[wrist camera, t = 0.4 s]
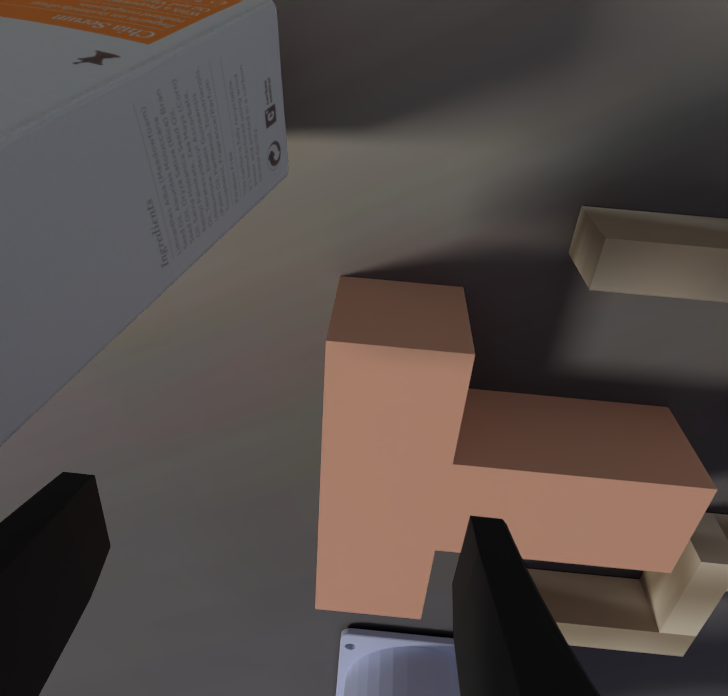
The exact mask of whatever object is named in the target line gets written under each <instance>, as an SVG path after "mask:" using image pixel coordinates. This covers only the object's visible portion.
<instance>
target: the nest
mask: <svg viewBox="0 0 728 696" xmlns="http://www.w3.org/2000/svg"><path fill="white" fill-rule="evenodd" d="M569 255H570V257H571V258H572V260H573V262H574V264H575V265H576V267H577V269H578V271H579V272H580V274H581V276H582V278H583V279H584V281H585V283H586V285H587V286H588V288H589V290H596V291H607V292H618V293H630V294H641V295H652V296H663V297H674V298H685V299H696V300H707V301H718V302H728V219H724V218H713V217H701V216H690V215H679V214H667V213H656V212H645V211H633V210H622V209H611V208H599V207H588V206H581V210H580V213H579V217H578V220H577V224H576V228H575V231H574V235H573V238H572V242H571V246H570V249H569ZM528 571H529V573H530V575H531V577H532V579H533V581H534V583H535V585H536V587H537V589H538V591H539V593H540V595H541V596H542V598H543V600H544V602H545V604H546V606H547V607H548V609H549V611H550V613H551V615H552V616H553V618H554V620H555V622H556V624H557V625H558V627H559V629H560V631H561V633H562V634H563V636H564V638H565V640H566V641H567V643H568V645H572V646H582V647H592V648H602V649H612V650H622V651H632V652H642V653H652V654H662V655H672V656H682V657H683V656H684V654H685V653H686V651H687V650H688V648H689V647H690V645H691V644H692V642H693V641H694V639H695V637H696V636H697V634H698V633H699V631H700V630H701V628H702V627H703V625H704V624H705V622H706V621H707V619H708V618H709V616H710V615H711V613H712V612H713V610H714V608H715V607H716V605H717V604H718V602H719V601H720V599H721V598H722V596H723V595H724V593H725V592H726V591H728V515H725V514H715V513H704V515H703V517H702V519H701V520H700V522H699V524H698V526H697V527H696V529H695V531H694V533H693V535H692V536H691V538H690V540H689V542H688V544H687V545H686V547H685V549H684V551H683V553H682V554H681V556H680V558H679V560H678V562H677V563H676V565H675V567H674V569H673V570H672V572H671V573H663V572H653V571H643V573H642V575H641V577H640V579H629V578H619V577H609V576H599V575H589V574H578V573H568V572H558V571H548V570H537V569H528Z"/></svg>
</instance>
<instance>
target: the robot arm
mask: <svg viewBox="0 0 728 696" xmlns="http://www.w3.org/2000/svg"><path fill="white" fill-rule="evenodd" d="M109 549H110V541H109V537H108V533H107V528H106V524H105V519H104V515H103V510H102V506H101V502H100V497H99V493H98V488H97V484H96V479H95V475H87V474H78V473H69V472H62V473H61V474H60V475H59V476H57V477H56V478H55V479H54V480H52V481H51V482H50V483H48V484H47V485H46V486H45V487H43V488H42V489H41V490H40V491H39V492H37V493H36V494H35V495H34V496H32V497H31V498H30V499H29V500H27V501H26V502H25V503H24V504H23V505H21V506H20V507H19V508H18V509H16V510H15V511H14V512H13V513H11V514H10V515H9V516H8V517H7V518H5V519H4V520H3V521H2V522H0V696H39V694H40V692H41V690H42V688H43V687H44V685H45V683H46V681H47V679H48V677H49V675H50V673H51V672H52V670H53V668H54V666H55V664H56V662H57V660H58V659H59V657H60V655H61V653H62V651H63V649H64V647H65V646H66V644H67V642H68V640H69V638H70V636H71V634H72V632H73V630H74V629H75V627H76V625H77V623H78V621H79V619H80V617H81V615H82V613H83V612H84V610H85V608H86V606H87V604H88V602H89V600H90V598H91V595H92V593H93V590H94V588H95V586H96V583H97V581H98V578H99V576H100V573H101V570H102V568H103V565H104V562H105V560H106V557H107V554H108V552H109ZM452 587H453V638H445V637H435V636H425V635H415V634H405V633H395V632H385V631H375V630H365V629H355V628H347V629H345V630H343V631H342V633H341V642H340V654H339V666H338V678H337V690H336V696H600V695H599V693H598V691H597V690H596V688H595V687H594V685H593V684H592V682H591V681H590V679H589V677H588V676H587V674H586V672H585V671H584V669H583V668H582V666H581V664H580V663H579V661H578V660H577V658H576V656H575V655H574V653H573V651H572V650H571V648H570V646H569V645H568V643H567V641H566V640H565V638H564V636H563V634H562V633H561V631H560V629H559V627H558V625H557V624H556V622H555V620H554V618H553V616H552V615H551V613H550V611H549V609H548V607H547V606H546V604H545V602H544V600H543V598H542V596H541V595H540V593H539V591H538V589H537V587H536V585H535V583H534V581H533V579H532V577H531V575H530V573H529V571H528V569H527V567H526V565H525V563H524V561H523V559H522V557H521V555H520V553H519V550H518V548H517V546H516V544H515V542H514V540H513V537H512V535H511V533H510V531H509V528H508V526H507V524H506V523H505V521H504V520H503V519H499V518H489V517H480V516H471V515H470V518H469V522H468V526H467V530H466V533H465V537H464V541H463V545H462V549H461V552H460V556H459V560H458V564H457V568H456V572H455V575H454V579H453V583H452Z"/></svg>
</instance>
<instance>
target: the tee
mask: <svg viewBox="0 0 728 696" xmlns="http://www.w3.org/2000/svg"><path fill="white" fill-rule="evenodd" d="M474 358H475V350H474V345H473V339H472V333H471V328H470V322H469V316H468V311H467V305H466V299H465V294H464V288H463V287H457V286H446V285H435V284H424V283H413V282H402V281H390V280H379V279H368V278H357V277H346V276H340V280H339V284H338V289H337V293H336V298H335V302H334V307H333V311H332V316H331V320H330V325H329V329H328V334H327V338H326V352H325V377H324V402H323V427H322V452H321V477H320V502H319V527H318V552H317V577H316V602H315V609H322V610H332V611H342V612H352V613H362V614H372V615H382V616H392V617H403V618H413V619H421V615H422V610H423V606H424V601H425V596H426V591H427V586H428V581H429V576H430V572H431V567H432V562H433V557H434V552H435V550H438V551H448V552H459V553H460V552H461V549H462V545H463V541H464V537H465V533H466V530H467V526H468V522H469V518H470V515H471V516H480V517H489V518H499V519H503V520H504V521H505V523H506V524H507V526H508V528H509V531H510V533H511V535H512V537H513V540H514V542H515V544H516V546H517V548H518V550H519V553H520V555H521V557H522V559H530V560H540V561H551V562H561V563H571V564H581V565H592V566H602V567H612V568H622V569H632V570H643V571H653V572H663V573H671V572H672V570H673V569H674V567H675V565H676V563H677V562H678V560H679V558H680V556H681V554H682V553H683V551H684V549H685V547H686V545H687V544H688V542H689V540H690V538H691V536H692V535H693V533H694V531H695V529H696V527H697V526H698V524H699V522H700V520H701V519H702V517H703V515H704V513H705V511H706V510H707V508H708V506H709V504H710V502H711V501H712V499H713V497H714V495H715V493H716V492H717V490H718V489H717V488H716V486H715V484H714V483H713V481H712V479H711V478H710V476H709V474H708V473H707V471H706V469H705V468H704V466H703V464H702V463H701V461H700V459H699V458H698V456H697V454H696V453H695V451H694V449H693V448H692V446H691V444H690V443H689V441H688V439H687V438H686V436H685V434H684V433H683V431H682V429H681V428H680V426H679V424H678V423H677V421H676V419H675V418H674V416H673V414H672V413H671V411H670V409H669V408H668V407H662V406H651V405H641V404H630V403H619V402H608V401H598V400H587V399H576V398H565V397H555V396H544V395H533V394H522V393H512V392H501V391H490V390H480V389H469V388H468V387H469V382H470V378H471V373H472V368H473V363H474Z"/></svg>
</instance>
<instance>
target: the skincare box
mask: <svg viewBox="0 0 728 696" xmlns="http://www.w3.org/2000/svg"><path fill="white" fill-rule="evenodd" d="M288 169H289V167H288V152H287V138H286V125H285V115H284V102H283V89H282V78H281V63H280V49H279V33H278V19H277V10H276V5H275V3H274V2H273V1H272V0H0V446H1V445H2V444H3V443H4V442H5V441H6V440H7V439H8V438H9V437H10V436H11V435H13V434H14V433H15V432H16V431H17V430H18V429H19V428H20V427H21V426H22V425H23V424H24V423H25V422H26V421H27V420H28V419H30V418H31V417H32V416H33V415H34V414H35V413H36V412H37V411H38V410H39V409H40V408H41V407H43V406H44V405H45V404H46V403H47V402H48V401H49V400H50V399H51V398H52V397H53V396H54V395H55V394H56V393H57V392H58V391H59V390H60V389H61V388H62V387H63V386H65V385H66V384H67V383H68V382H69V381H70V380H71V379H72V378H73V377H74V376H75V375H76V374H77V373H78V372H79V371H80V370H81V369H83V368H84V367H85V366H86V365H87V364H88V363H89V362H90V361H91V360H92V359H93V358H94V357H95V356H96V355H98V354H99V353H100V352H101V351H102V350H103V349H104V348H105V347H106V346H107V345H108V344H109V343H110V342H111V341H112V340H113V339H114V338H115V337H116V336H117V335H119V334H120V333H121V332H122V331H123V330H124V329H125V328H126V327H127V326H128V325H129V324H130V323H131V322H133V321H134V320H135V319H136V318H137V317H138V316H139V315H140V314H141V313H142V312H143V311H144V310H145V309H146V308H148V307H149V306H150V305H151V304H152V303H153V302H154V301H155V300H156V299H157V298H158V297H159V296H160V295H161V294H162V293H163V292H164V291H165V290H166V289H167V288H168V287H169V286H171V285H172V284H173V283H174V282H175V281H176V280H177V279H178V278H179V277H180V276H181V275H182V274H183V273H184V272H185V271H186V270H187V269H189V268H190V267H191V266H192V265H193V264H194V263H195V262H196V261H197V260H198V259H199V258H200V257H201V256H202V255H203V254H204V253H205V252H206V251H207V250H208V249H210V248H211V247H212V246H213V245H214V244H215V243H216V242H217V241H218V240H219V239H220V238H221V237H222V236H224V235H225V234H226V233H227V232H228V231H229V230H230V229H231V228H232V227H233V226H234V225H235V224H236V223H237V222H238V221H239V220H240V219H242V218H243V217H244V216H245V215H246V214H247V213H248V212H249V211H250V210H251V209H252V208H253V207H254V206H255V205H256V204H258V203H259V202H260V201H261V200H262V199H263V198H264V197H265V196H266V195H267V194H268V193H269V192H270V191H271V190H272V189H273V188H274V187H275V186H276V185H277V184H278V183H279V182H281V181H282V180H283V179H284V178H285V177H286V176H287V174H288Z"/></svg>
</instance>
